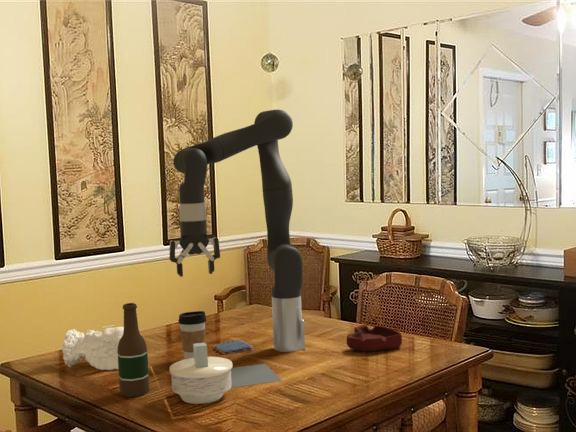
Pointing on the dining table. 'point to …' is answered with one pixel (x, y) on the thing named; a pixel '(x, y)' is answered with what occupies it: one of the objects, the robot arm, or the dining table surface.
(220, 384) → the paper bowls
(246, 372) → the mat
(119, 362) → the beer bottle
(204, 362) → the lid
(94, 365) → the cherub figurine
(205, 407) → the dining table surface
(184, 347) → the coffee cup
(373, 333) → the ashtray
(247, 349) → the woven mat
